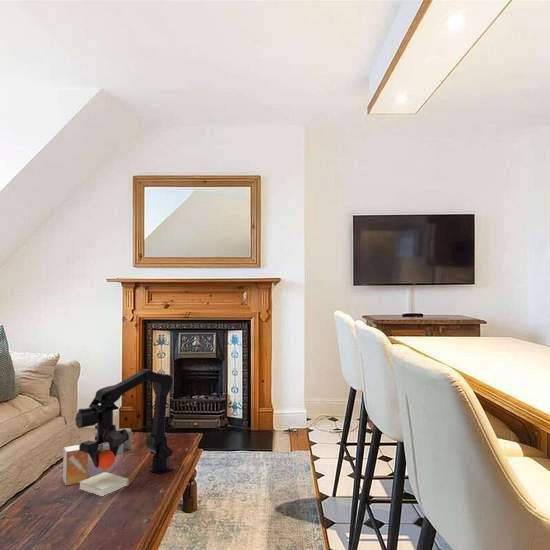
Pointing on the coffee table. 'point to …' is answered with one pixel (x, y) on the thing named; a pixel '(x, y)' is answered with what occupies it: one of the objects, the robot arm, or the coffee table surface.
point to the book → (103, 483)
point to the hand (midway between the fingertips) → (104, 464)
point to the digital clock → (123, 447)
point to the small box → (74, 465)
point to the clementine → (106, 459)
